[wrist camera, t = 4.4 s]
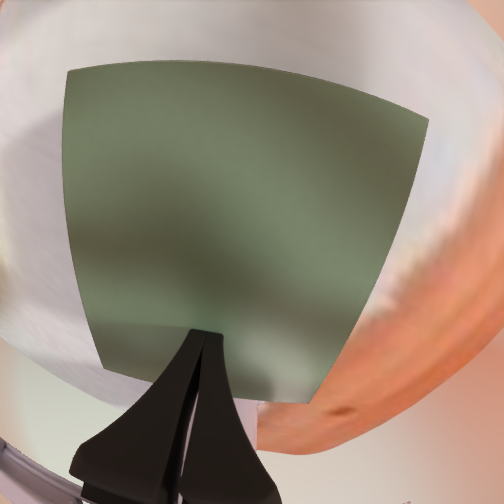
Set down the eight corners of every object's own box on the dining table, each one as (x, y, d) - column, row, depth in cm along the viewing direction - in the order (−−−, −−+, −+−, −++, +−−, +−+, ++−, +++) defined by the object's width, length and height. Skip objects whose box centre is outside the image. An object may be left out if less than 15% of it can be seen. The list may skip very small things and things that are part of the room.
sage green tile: (307, 395, 14) (308, 403, 13) (107, 361, 13) (103, 368, 13) (420, 117, 7) (429, 119, 6) (77, 71, 6) (67, 70, 6)
